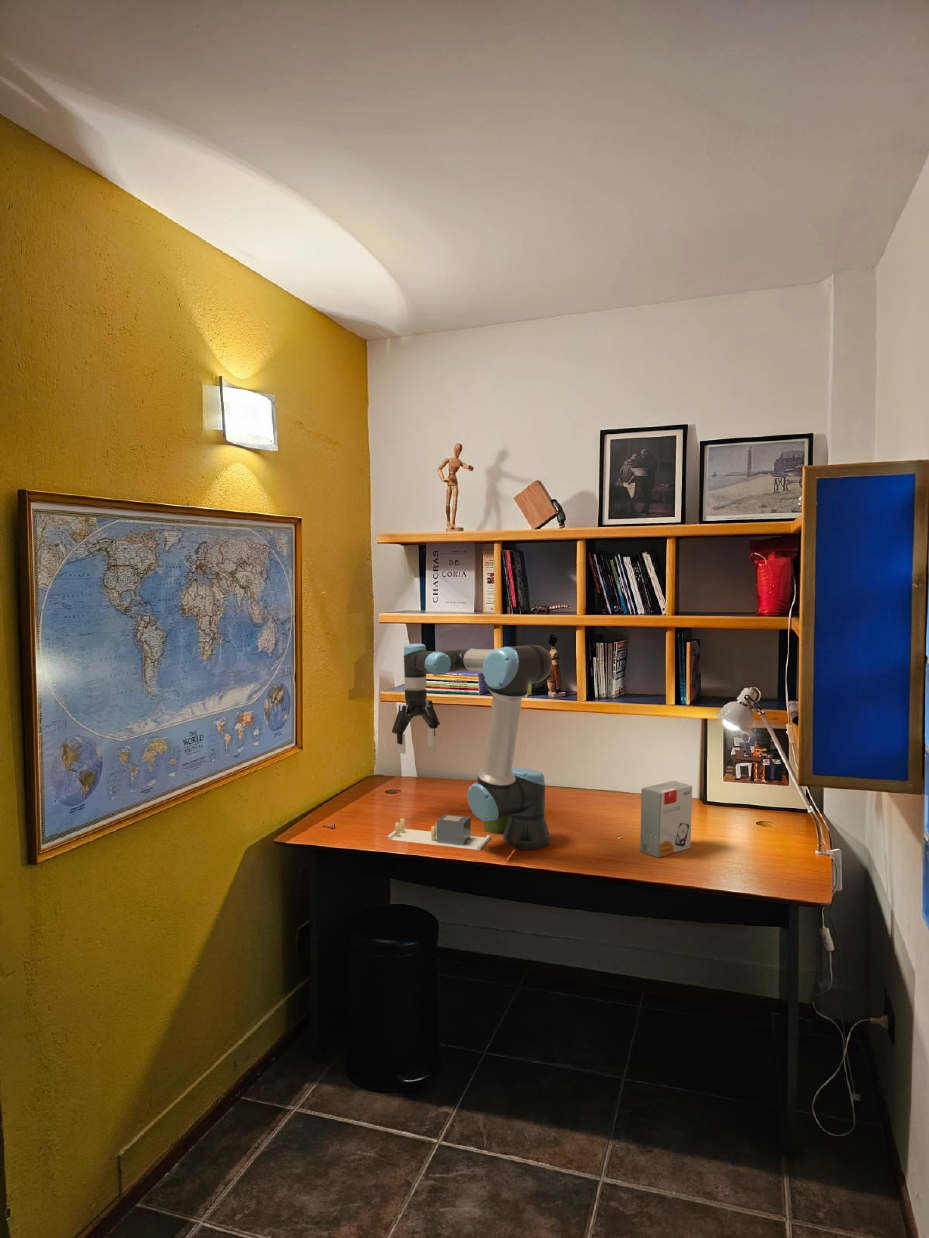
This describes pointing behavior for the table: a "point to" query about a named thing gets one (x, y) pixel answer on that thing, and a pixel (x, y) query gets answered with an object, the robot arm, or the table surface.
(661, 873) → the table surface
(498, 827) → the plant pot
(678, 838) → the hard drive box
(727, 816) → the table surface
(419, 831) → the tray
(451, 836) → the block
